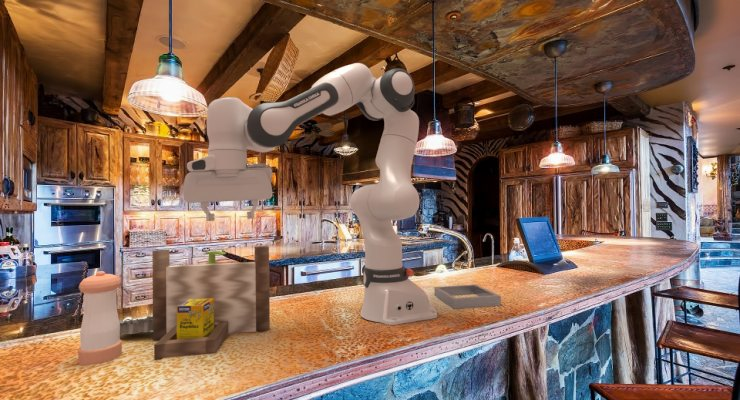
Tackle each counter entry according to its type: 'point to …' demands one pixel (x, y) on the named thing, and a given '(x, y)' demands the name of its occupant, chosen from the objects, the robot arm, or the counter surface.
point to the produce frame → (481, 300)
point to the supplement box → (195, 318)
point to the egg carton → (136, 325)
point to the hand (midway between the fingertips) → (231, 219)
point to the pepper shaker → (99, 320)
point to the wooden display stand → (203, 281)
